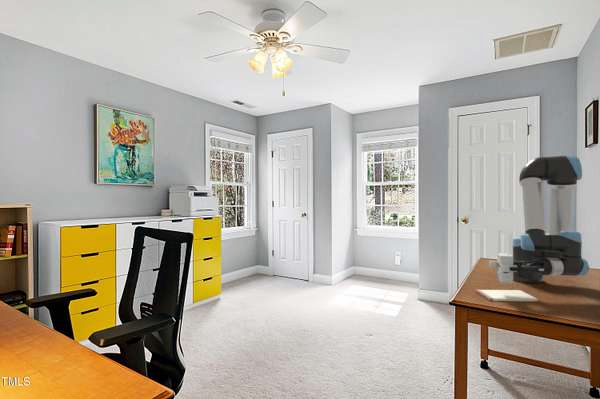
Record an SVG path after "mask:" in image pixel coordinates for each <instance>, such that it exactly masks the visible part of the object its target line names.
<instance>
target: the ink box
mask: <svg viewBox="0 0 600 399" xmlns="http://www.w3.org/2000/svg"><path fill="white" fill-rule="evenodd" d="M497 261H498V267H497V280H498V281H500V284H501V283H504V284H514V280H513V272H501V271H500V265H513V254H511V253H504V252H503V253H499V252H498V253H497Z"/></svg>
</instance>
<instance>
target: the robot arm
mask: <svg viewBox="0 0 600 399" xmlns="http://www.w3.org/2000/svg"><path fill="white" fill-rule="evenodd" d="M582 177H583V168H582V163H581V161H580V159H579V157H578V156H575V155H558V156H557V155H555V156H538V157H535V158H533V159H531V160H530V161H528V162H527V163H526V164H525V165H524V166H523V168H522V169H521V171H520V173H519V178H518V179H519V186H521V188H522V204H523V206H522V207H523V218H524V220H523V221H524V231H525V233H521V234H520V235H518V236H515V237H513V239H512V245H511V246H512V256H513V265H500V271H501V272H513V281H515V282H520V283H527V284H528V283H529V284H538V283H539V284H541V283H543V282H544V276H553V277H556V276H574V277H577V276H578V277H579V276H585V275H587V274H588V273H589V271H590V265H589V262H588V261H587V260H586V259H585V258H583V256H582V248H583V247H582V244H583V242H582V234H581V232H579V231H576V230H570V229H571V215H572V214H571V213H572V201H573V200H572V198H573V197H572V196H573V188H574V187H575V186H576V185H577V183H578V182H577V181H580V180H582ZM544 181H546V184H547V186H548V187H549V188H550V192H549V194H550V195H549V209H548V211H549V212H548V228H547V230H548V231H547V232H546V231H545V229H546V228H545V217H544V208H543V195H542V187H541V185H543V182H544ZM488 267H489V268H498V260H489V261H488Z"/></svg>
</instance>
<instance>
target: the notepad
mask: <svg viewBox="0 0 600 399" xmlns="http://www.w3.org/2000/svg"><path fill="white" fill-rule="evenodd" d="M475 293H476V294H478V295H480V297H483V298H484V299H486V300H487V301H489V302H501V301H502V302H538V301H539V300H538V298H537V297H535V296H532V295H531V294H529V293H526V292H525V291H523V290H520V289H475Z"/></svg>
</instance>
